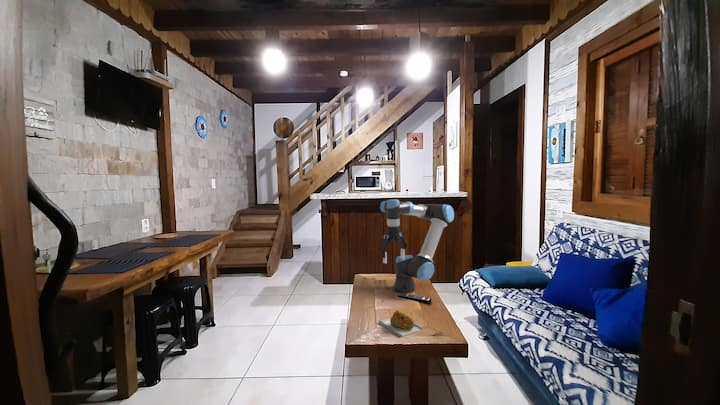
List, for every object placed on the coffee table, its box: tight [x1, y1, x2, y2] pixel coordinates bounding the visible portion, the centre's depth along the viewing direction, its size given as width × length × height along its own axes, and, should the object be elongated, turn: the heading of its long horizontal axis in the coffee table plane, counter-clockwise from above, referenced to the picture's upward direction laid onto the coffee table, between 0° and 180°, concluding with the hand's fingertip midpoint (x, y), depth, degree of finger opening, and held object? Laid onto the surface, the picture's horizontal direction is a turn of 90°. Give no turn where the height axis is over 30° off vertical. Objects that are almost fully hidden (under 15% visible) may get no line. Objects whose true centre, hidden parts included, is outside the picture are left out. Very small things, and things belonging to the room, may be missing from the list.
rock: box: [389, 310, 415, 329], centre depth 153 cm, size 11×8×10 cm
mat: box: [378, 317, 423, 338], centre depth 155 cm, size 14×18×1 cm
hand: (393, 261), depth 182 cm, fingers open, 13 cm apart
